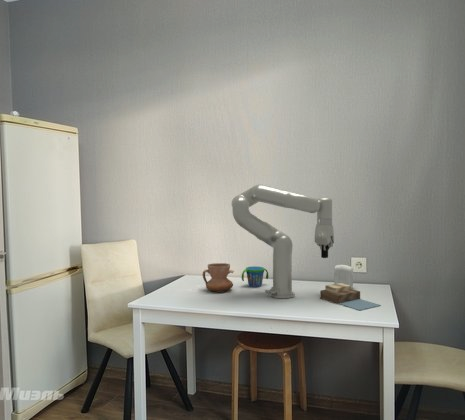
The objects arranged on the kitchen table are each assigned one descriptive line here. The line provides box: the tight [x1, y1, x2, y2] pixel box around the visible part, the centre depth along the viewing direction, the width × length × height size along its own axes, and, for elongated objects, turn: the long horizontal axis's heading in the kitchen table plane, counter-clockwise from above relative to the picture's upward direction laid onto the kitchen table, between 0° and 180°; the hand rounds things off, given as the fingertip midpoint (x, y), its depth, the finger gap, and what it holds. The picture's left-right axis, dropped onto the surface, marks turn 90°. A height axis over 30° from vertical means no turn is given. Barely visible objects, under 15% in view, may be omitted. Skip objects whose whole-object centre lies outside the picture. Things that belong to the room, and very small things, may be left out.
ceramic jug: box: [202, 262, 235, 293], centre depth 234 cm, size 18×14×14 cm
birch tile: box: [324, 283, 350, 293], centre depth 215 cm, size 10×7×2 cm
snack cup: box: [241, 265, 269, 288], centre depth 243 cm, size 16×10×10 cm
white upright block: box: [333, 264, 354, 289], centre depth 236 cm, size 10×4×12 cm, turn 52°
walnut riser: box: [319, 288, 361, 305], centre depth 214 cm, size 15×12×4 cm
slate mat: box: [338, 298, 382, 311], centre depth 203 cm, size 14×13×1 cm
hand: (324, 257), depth 222 cm, fingers closed
